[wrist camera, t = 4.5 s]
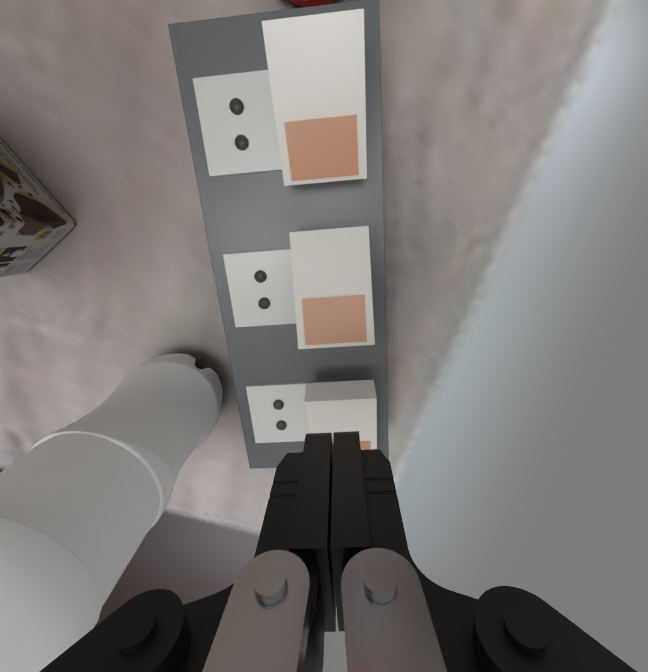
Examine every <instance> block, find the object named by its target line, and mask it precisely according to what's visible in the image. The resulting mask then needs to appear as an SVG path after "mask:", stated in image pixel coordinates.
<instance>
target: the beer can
mask: <svg viewBox="0 0 648 672" xmlns="http://www.w3.org/2000/svg"><path fill="white" fill-rule="evenodd" d="M289 1H290V2H292V3H293V4H296V5H301V6H306V7H311V6H319V5H325V4H328V3H330V2H331V1H333V0H289Z"/></svg>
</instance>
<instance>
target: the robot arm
mask: <svg viewBox="0 0 648 672" xmlns="http://www.w3.org/2000/svg"><path fill="white" fill-rule="evenodd" d="M336 607H337V617H338V627H339V631H345V643H346V656H347V668H348V672H637V671H635V670H634V669H633V668H631V667H630V666H629V665H627V664H626V663H625V662H623V661H622V660H621V659H619V658H618V657H617V656H615V655H614V654H613V653H612V652H610V651H609V650H608V649H606V648H605V647H604V646H602V645H601V644H600V643H598V642H597V641H596V640H594V639H593V638H592V637H591V636H589V635H588V634H587V633H585V632H584V631H583V630H582V629H580V628H579V627H578V626H576V625H575V624H574V623H572V622H571V621H570V620H568V619H567V618H566V617H565V616H563V615H562V614H561V613H559V612H558V611H557V610H555V609H554V608H552V607H551V606H550V605H549V604H548V603H546V602H545V601H543V600H542V599H540V598H539V597H537V596H536V595H534V594H532V593H530V592H527V591H525V590H523V589H520V588H515V587H510V586H498V587H494V588H491V589H489V590H487V591H486V592H484V594H482V595H481V597H480V598H479V600H478V599H474V598H472V597H469V596H465V595H462V594H459V593H456V592H453V591H450V590H447V589H445V588H442V587H441V586H439V585H437V584H435V583H434V582H432V581H431V580H429V579H428V578H427V577H425V575H424V574H422V573H421V571H420V570H419V569H418V568H417V567H416V565H415V563H414V562H413V560H412V558H411V556H410V553H409V550H408V546H407V541H406V536H405V532H404V527H403V522H402V517H401V513H400V508H399V503H398V498H397V494H396V489H395V484H394V481H393V474H392V470H391V465H390V461H389V460H388V459H387V458H386V457H385V455H384V454H383V453H382V452H381V450H380V449H371V450H361V447H360V436H359V431H351V432H334V433H333V439H332V432H331V433H307V434H306V436H305V442H304V448H303V452H298V453H287V454H286V456H285V457H284V458H283V459H282V461H281V462H280V463H279V464H278V466H277V468H276V472H275V476H274V480H273V485H272V488H271V492H270V498H269V501H268V505H267V509H266V513H265V517H264V521H263V525H262V529H261V533H260V537H259V541H258V545H257V549H256V553H255V556H254V558H253V559H252V560H250V561H249V562H248V563H247V564H246V565H245V566H244V567H243V568H242V570H241V571H240V573H239V574H238V576H237V578H236V580H235V582H234V583H233V584H232V585H231V586H229V587H228V588H226V589H224V590H222V591H220V592H218V593H216V594H213V595H210V596H207V597H205V598H202V599H199V600H197V601H193V602H191V603H188V604H185V605H183V604H182V601H181V600H180V598H179V597H178V596H177V595H176V594H175V593H174V592H172V591H170V590H166V589H155V590H150V591H146V592H144V593H141V594H139V595H137V596H135V597H133V598H132V599H130V600H129V601H127V602H126V603H124V604H123V605H122V606H120V607H119V608H118V609H117V610H116V611H114V612H113V613H112V614H111V615H109V616H108V617H107V618H106V619H104V620H103V621H102V622H101V623H99V624H98V625H97V626H96V627H94V628H93V629H92V630H91V631H89V632H88V633H87V634H86V635H84V636H83V637H82V638H81V639H79V640H78V641H77V642H76V643H74V644H73V645H72V646H71V647H69V648H68V649H67V650H66V651H64V652H63V653H62V654H61V655H59V656H58V657H57V658H56V659H54V660H53V661H52V662H51V663H50V664H48V665H47V666H46V667H45V668H43V669H42V670H41V671H40V672H322V669H323V655H324V654H323V653H324V632H327V631H328V632H330V631H331V632H333V631H334V632H335V631H336Z"/></svg>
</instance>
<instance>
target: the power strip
mask: <svg viewBox="0 0 648 672" xmlns="http://www.w3.org/2000/svg"><path fill="white" fill-rule="evenodd" d="M363 8H364V43H365V99H366V155H367V178H366V179H355V180H344V181H333V182H322V183H311V184H300V185H289V186H284V181H283V173H282V166H281V159H280V152H279V144H278V137H277V130H276V123H275V115H274V108H273V101H272V94H271V86H270V79H269V72H268V65H267V57H266V50H265V43H264V35H263V28H262V21H266V20H274V19H282V18H290V17H298V16H306V15H315V14H323V13H331V12H339V11H347V10H355V9H363ZM168 27H169V32H170V38H171V43H172V48H173V54H174V59H175V65H176V70H177V76H178V81H179V86H180V92H181V97H182V103H183V108H184V113H185V119H186V124H187V130H188V135H189V141H190V146H191V151H192V157H193V162H194V168H195V173H196V178H197V184H198V189H199V195H200V200H201V206H202V211H203V216H204V222H205V227H206V233H207V238H208V244H209V249H210V254H211V260H212V265H213V271H214V276H215V281H216V287H217V292H218V298H219V303H220V309H221V314H222V319H223V325H224V330H225V336H226V341H227V346H228V352H229V357H230V363H231V368H232V374H233V379H234V384H235V390H236V395H237V401H238V406H239V411H240V417H241V422H242V428H243V433H244V439H245V444H246V449H247V455H248V460H249V466H250V468H276V467H277V466H278V464H279V463H280V462H281V461H282V459H283V458H284V457H285V456H286V454H287V453H298V452H303V448H304V442H305V436H306V434H307V433H309V429H308V423H307V417H306V410H305V404H304V399H305V389H306V383H319V382H338V381H357V380H374V385H375V391H376V398H377V449H380V450H381V452H382V453H383V454H384V455H385V457H386V458H387V459H388V460H389V451H388V403H387V355H386V308H385V260H384V212H383V164H382V116H381V68H380V20H379V0H359V1H351V2H343V3H335V4H327V5H319V6H311V7H303V8H295V9H287V10H279V11H271V12H263V13H255V14H247V15H239V16H231V17H223V18H215V19H207V20H199V21H191V22H183V23H175V24H168ZM359 226H369V243H370V262H371V281H372V300H373V319H374V338H375V345H362V346H345V347H328V348H311V349H298V339H297V326H296V313H295V300H294V288H293V275H292V262H291V249H290V236H289V232H298V231H311V230H323V229H335V228H347V227H359Z"/></svg>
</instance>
